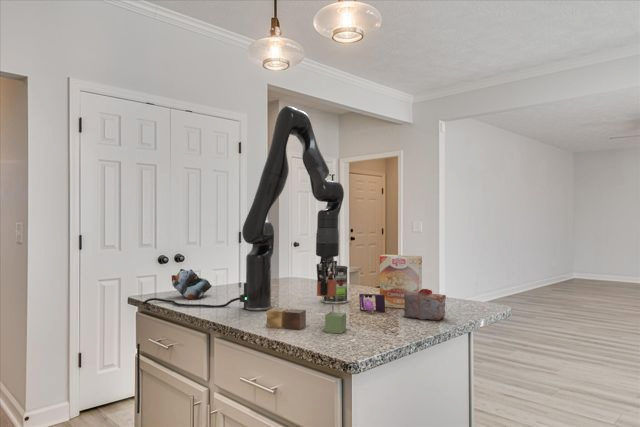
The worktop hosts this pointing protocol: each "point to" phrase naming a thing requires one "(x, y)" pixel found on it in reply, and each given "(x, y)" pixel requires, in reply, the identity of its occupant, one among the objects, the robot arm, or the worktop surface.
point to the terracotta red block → (331, 288)
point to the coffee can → (339, 287)
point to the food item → (424, 305)
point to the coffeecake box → (399, 278)
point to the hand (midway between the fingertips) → (326, 293)
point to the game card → (368, 304)
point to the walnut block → (295, 319)
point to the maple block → (276, 317)
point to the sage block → (335, 322)
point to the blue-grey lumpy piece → (190, 284)
